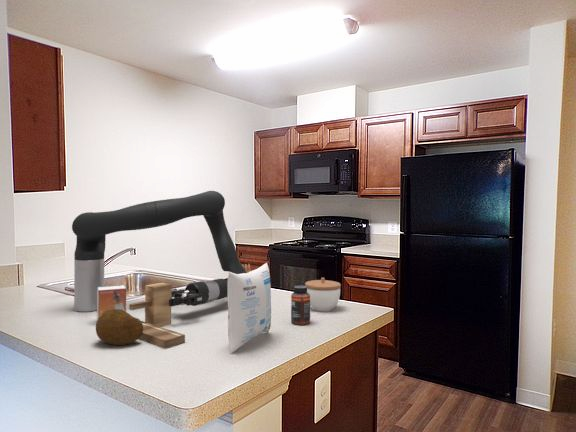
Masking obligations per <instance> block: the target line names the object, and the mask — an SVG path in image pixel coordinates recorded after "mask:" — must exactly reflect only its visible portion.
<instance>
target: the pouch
mask: <svg viewBox="0 0 576 432" xmlns="http://www.w3.org/2000/svg"><path fill="white" fill-rule="evenodd" d="M227 278H228V297H227V312H228V313H227V327H228V328H227V329H228V332H227V333H228V346H229V352H230V354H233V353H234V352H235V351H236V350H238V349H240V347H242V346H243V345H244V344H246V343H247V342H249V341H250V340H252V339H253V338H254V337H256V336H258V335H261V334H263V333H269V331H270V330H271V326H272V325H271V324H272V291H271V290H272V289H271V288H272V285H271V274H270V268H269V265H268V262H265V263H263V264H262V265H261V266H260V267H258V268H256V269H252V270H251V271H250V272H249V273H242V274H235V273H232V272H229V271H228V276H227Z"/></svg>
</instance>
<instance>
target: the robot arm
mask: <svg viewBox="0 0 576 432" xmlns="http://www.w3.org/2000/svg"><path fill="white" fill-rule="evenodd" d="M225 205H226V200H225V197H224V196H223V194H221V193H220V192H219V191H215V190H207V191H204V192H201V193H197V194H192V195H189V196H183V197H179V198H178V197H175V198H168V199H166V198H165V199H160V200H154V201H147V202H142V203H137V204H134V205H129V206H126V207H123V208H120V209H116V210H115V209H114V210H111V211H110V210H109V211H100V212H99V211H98V212H93V211H91V212H90V211H88V212H82V213H80V214H79V215H77V216H76V217H75V218H74V219H73V222H72V223H71V230H72V233H74V235H75V236H76V246H75V250H74V253H73V254H74V266H73V267H74V271H73V272H74V282H73V283H74V286H73V287H74V288H73V289H74V290H73V292H74V294H73V295H74V298H73V300H74V301H73V304H74V305H73V306H74V307H73V308H74V311H76V312H80V313H82V312H85V313H86V312H95V311H97V289H98V287H105V252H106V238H107V237H106V235H109V234H114V233H119V232H124V231H126V232H128V231H139V230H145V229H146V230H147V229H154V228H158V227H163V226H167V225H170V224H173V223H177V222H179V221H181V220H183V219H187V218H192V217H198V216H199V217H200V216H203V218H204V220H205V222H206V224H207V226H208V229H209V232H210V235H211V237H212V240H213V243H214V247H215V251H216V255H217V258H218V261H219V263H220V267H221V269H222V271H223V272H228V273H229V272H232V273H235V274H242V273H247V272H246V271H245V267H244V268H243V266H242V263H241V261H240V259H239V255H238V252H237V248H236V246H235V243H234V241H233V240H232V237H231V235H230V232H229V231H228V228H227V225H226V221H225V217H224V215H225V214H224V209H225ZM225 298H228V277H227V278H215V279H211V280H210V279H208V280H207V279H206V280H199V281H195V282H189V283H188V284H187V285H186V287H185V288H180V289H177V288H171V299H170V300H169V306H171V308H172V307H175V306H176V307H177V306H187V307H189V306H193V307H195V306H200V305H204V304H208V303H212V302H215V301H217V300H222V299H225Z"/></svg>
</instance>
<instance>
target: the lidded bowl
mask: <svg viewBox="0 0 576 432" xmlns="http://www.w3.org/2000/svg"><path fill="white" fill-rule="evenodd" d="M304 286H307V293H309V294H310V308H311V309H312V310H313V311H317V312H331V311H333V309H334V308H335V307H336V306H337V305H338V303H339V300H340V298H341V297H340V296H341V287H342V284H341V283H340V282H338V281H334V280H327V279H325V277H321V278H320V279H314V280H308V281H305V283H304Z"/></svg>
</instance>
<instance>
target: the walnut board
mask: <svg viewBox="0 0 576 432" xmlns="http://www.w3.org/2000/svg"><path fill="white" fill-rule="evenodd" d="M140 321H141V322H142V325H143V332H142V335H141V336H140V337H139V338H138V339H137V340H141V341H144V342H147V343H150V344H152V345H154V346H157V347H159V348H163V349H165V350H166V349H168V348H172V347H175V346H178V345H181V344H185V343H186V334H185V333H184V334H183V333H181V332H177V331H174V330H171V329H168V328H165V327H163V326H161V327H159V326H156V325H153V324H150V323H146V322H145V321H143V320H140Z"/></svg>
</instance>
